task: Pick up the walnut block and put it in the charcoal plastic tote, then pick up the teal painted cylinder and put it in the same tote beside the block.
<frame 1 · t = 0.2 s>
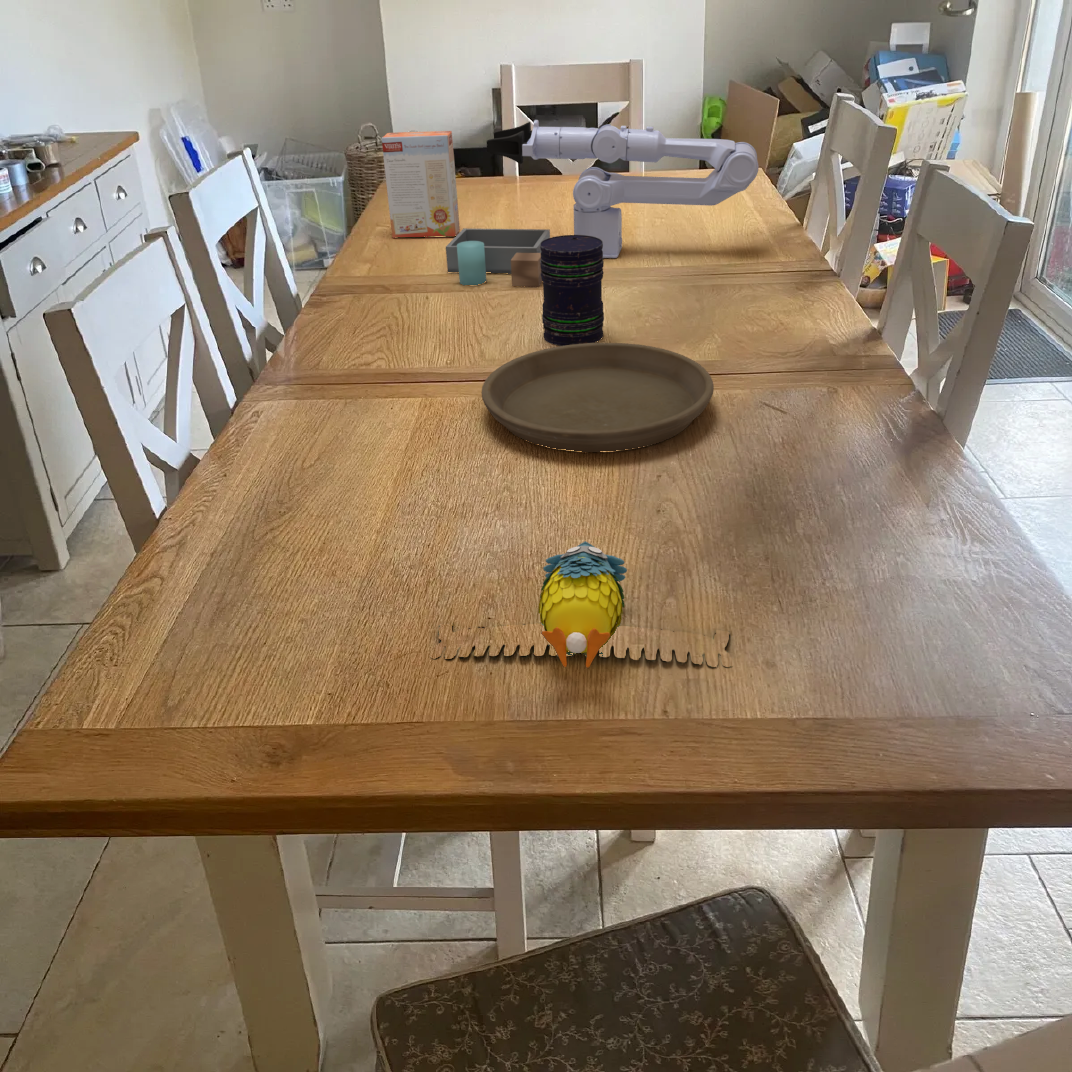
hand: (490, 141, 203), 21 cm above the table, tool horizontal, fingers open, 7 cm apart
tote: (500, 263, 207), on the table
walnut block: (528, 283, 196), on the table
plant saucer: (597, 414, 144), on the table
owl figurine: (581, 643, 100), on the table
teal cylinder: (473, 281, 198), on the table
cracker box: (426, 235, 229), on the table
storage jar: (573, 337, 170), on the table
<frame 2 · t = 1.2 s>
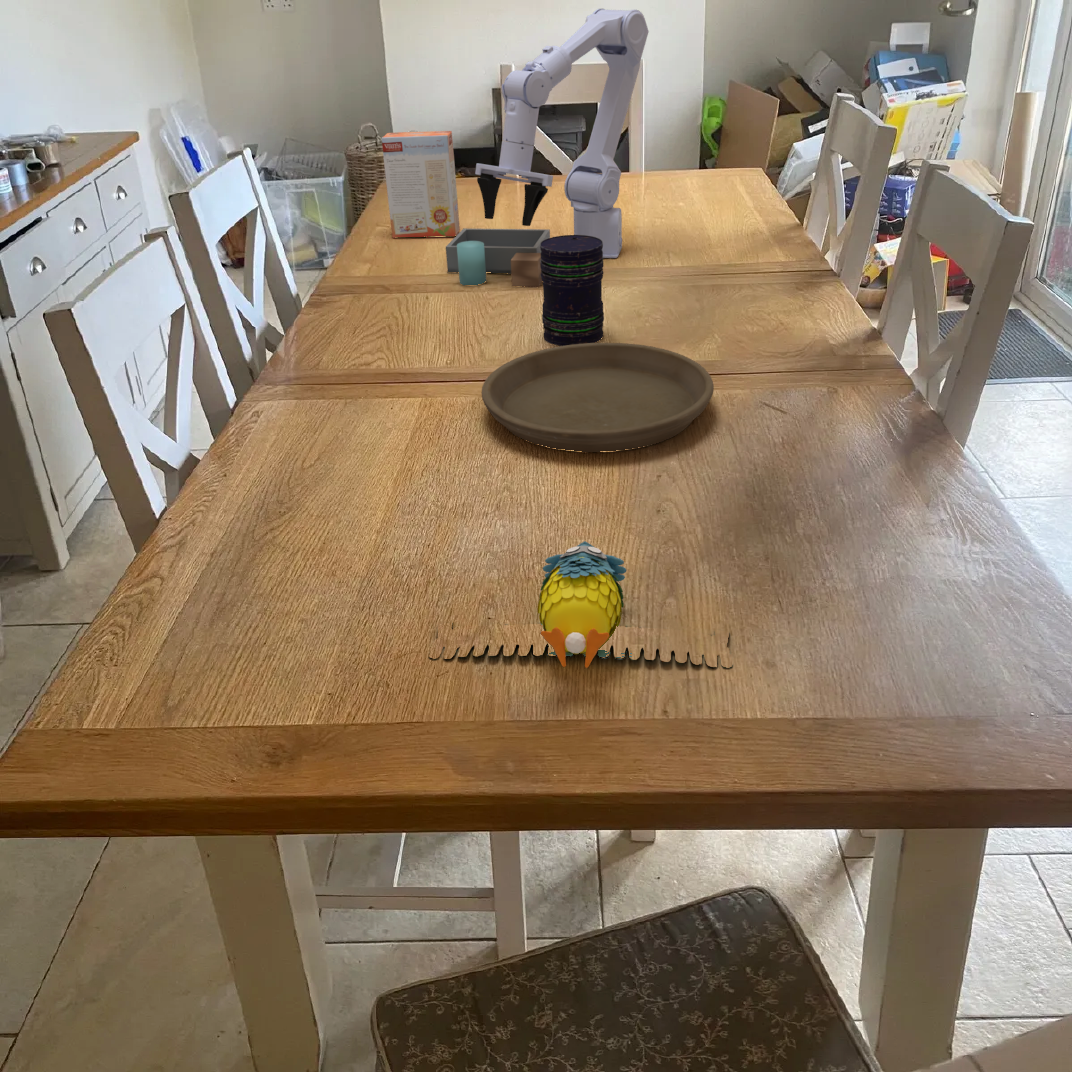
hand: (507, 222, 193), 11 cm above the table, tool tilted 15°, fingers open, 7 cm apart
nothing on the table moved.
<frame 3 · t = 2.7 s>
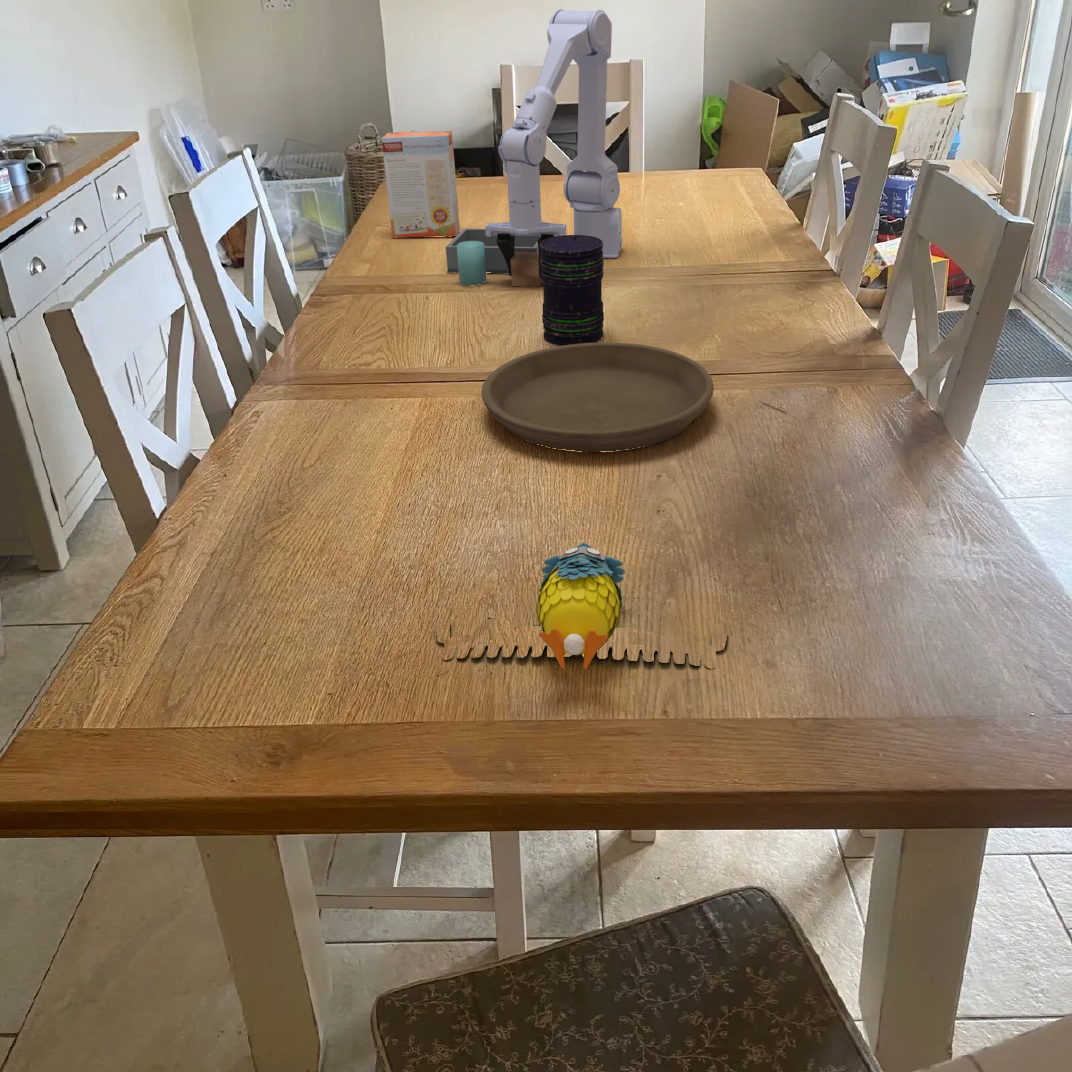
hand: (527, 275, 195), 1 cm above the table, tool pointing down, fingers closed on walnut block, 5 cm apart
walnut block: (528, 283, 196), on the table, touching gripper
everything else where it was.
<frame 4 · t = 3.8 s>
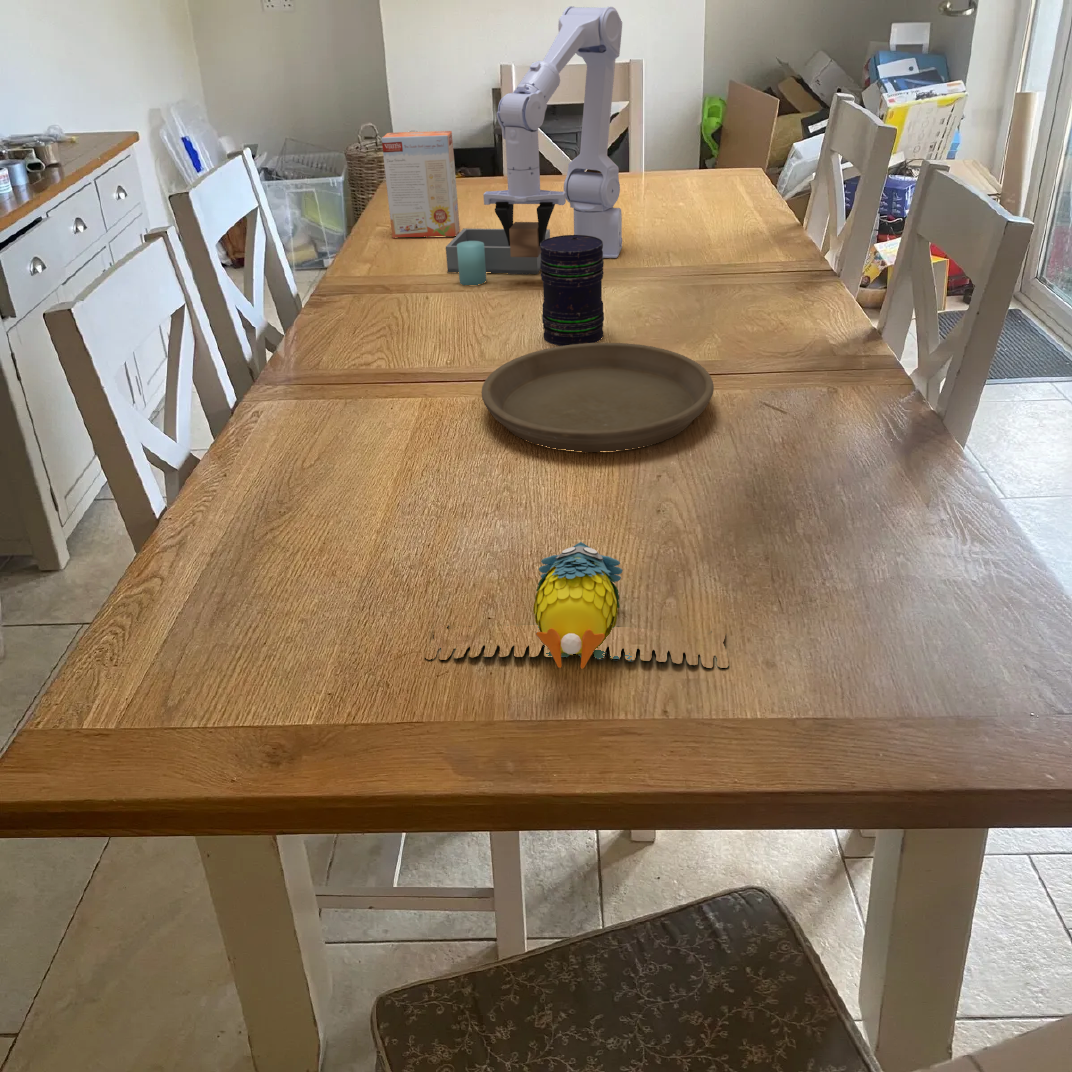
hand: (526, 244, 192), 7 cm above the table, tool pointing down, fingers closed on walnut block, 5 cm apart
walnut block: (527, 253, 193), point 6 cm above the table, touching gripper
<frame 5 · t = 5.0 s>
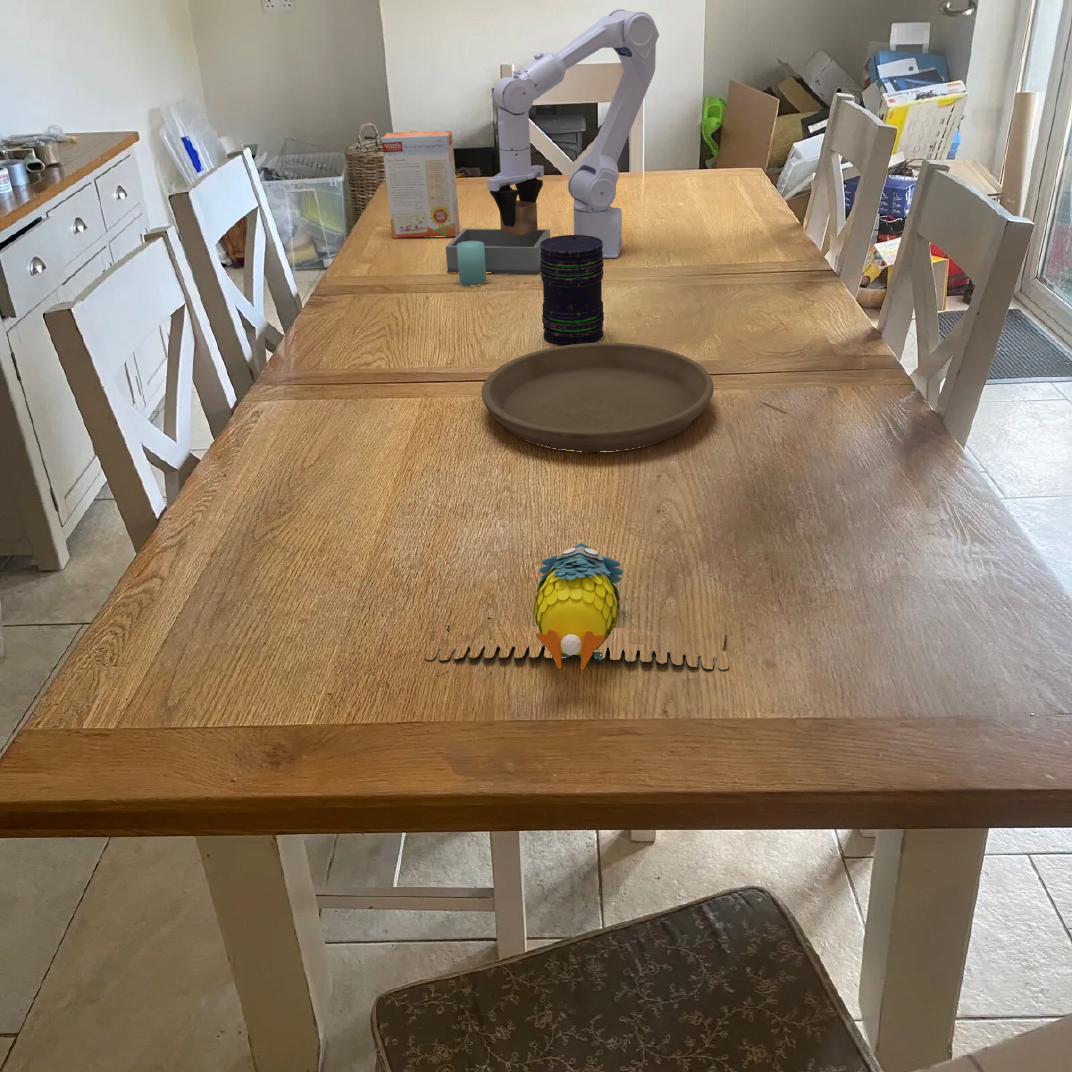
hand: (518, 222, 202), 8 cm above the table, tool pointing down, fingers closed on walnut block, 5 cm apart
walnut block: (519, 230, 203), point 6 cm above the table, touching gripper
everything else where it was.
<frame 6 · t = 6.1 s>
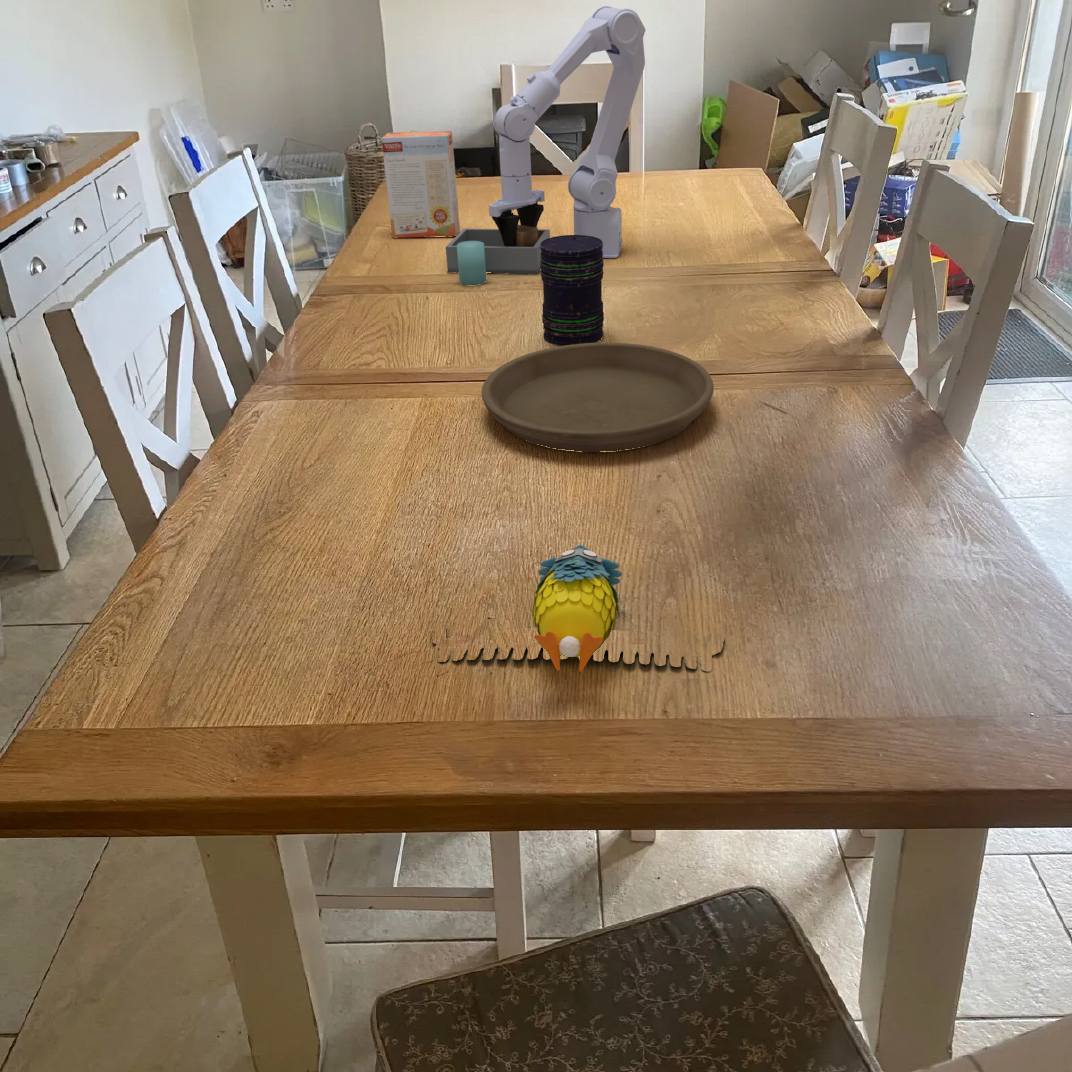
hand: (519, 246, 205), 3 cm above the table, tool pointing down, fingers closed on walnut block, 5 cm apart
walnut block: (520, 254, 206), point 2 cm above the table, touching gripper
everything else where it was.
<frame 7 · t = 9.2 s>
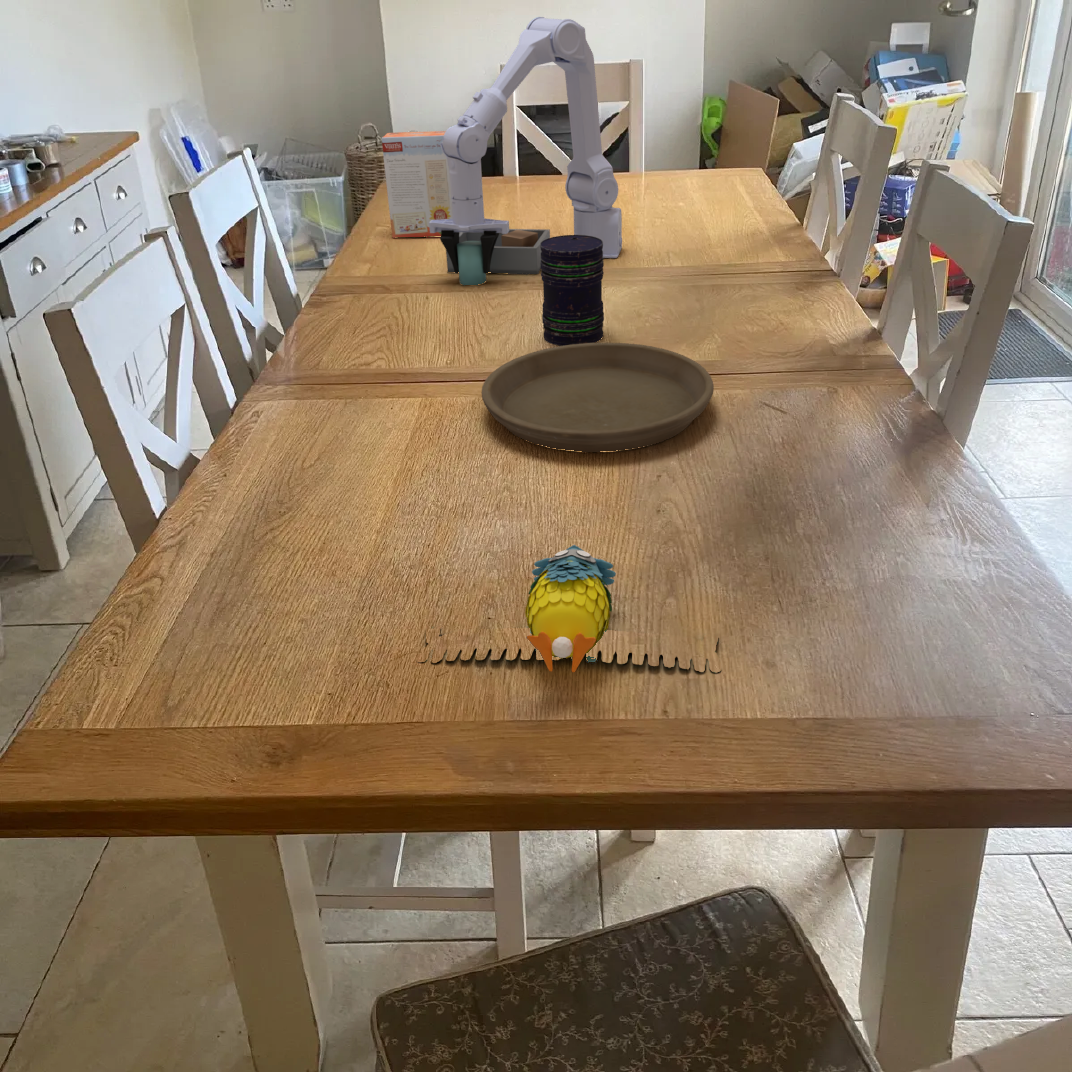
hand: (472, 271, 197), 2 cm above the table, tool pointing down, fingers closed on teal cylinder, 5 cm apart
walnut block: (520, 260, 206), point 1 cm above the table, touching tote
teal cylinder: (473, 281, 198), on the table, touching gripper
when the fingers open (4 cm above the table, at t = 12.6 s): teal cylinder drops 2 cm, resting on tote.
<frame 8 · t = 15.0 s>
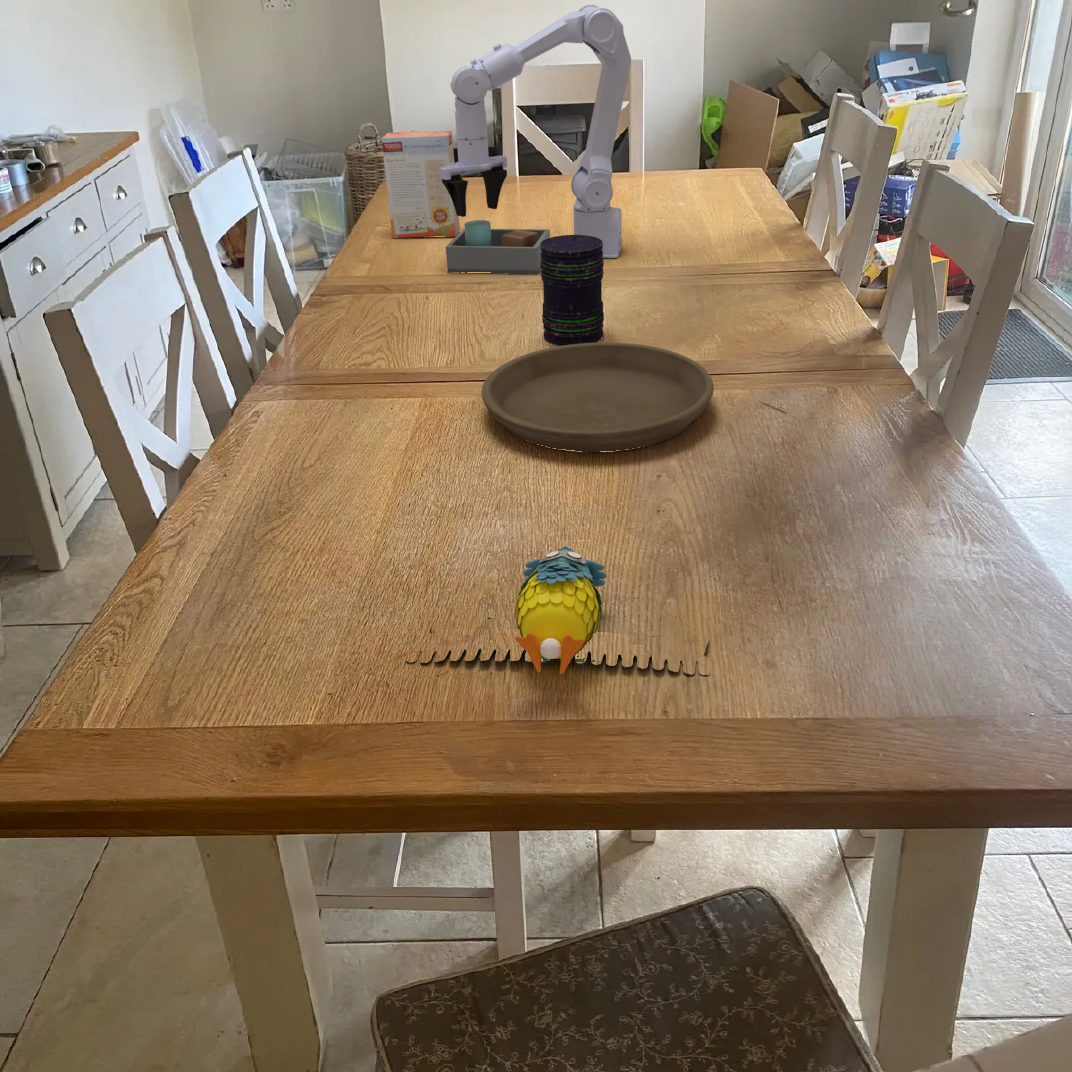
hand: (477, 212, 203), 10 cm above the table, tool pointing down, fingers open, 7 cm apart
teal cylinder: (479, 259, 207), point 1 cm above the table, touching tote
at the end: walnut block inside the target area on the tote (4.2 cm from its centre), point 0.8 cm above the tote's base; teal cylinder inside the target area on the tote (4.0 cm from its centre), point 0.8 cm above the tote's base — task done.
